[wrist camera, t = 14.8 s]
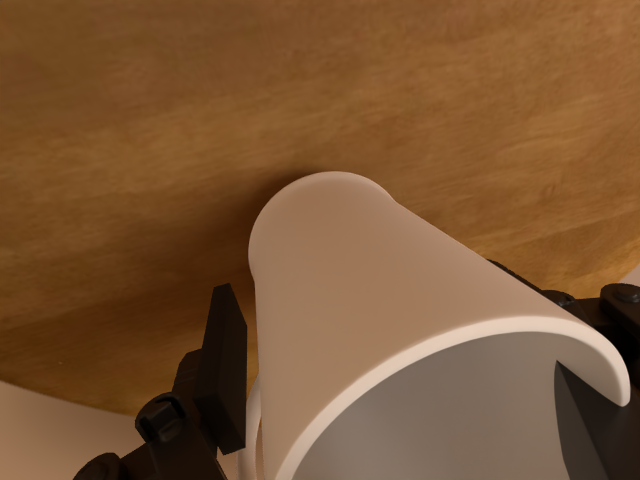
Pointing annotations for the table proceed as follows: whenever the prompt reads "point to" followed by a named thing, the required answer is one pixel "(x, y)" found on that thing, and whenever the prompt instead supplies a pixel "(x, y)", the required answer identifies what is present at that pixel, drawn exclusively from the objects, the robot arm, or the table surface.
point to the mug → (401, 348)
